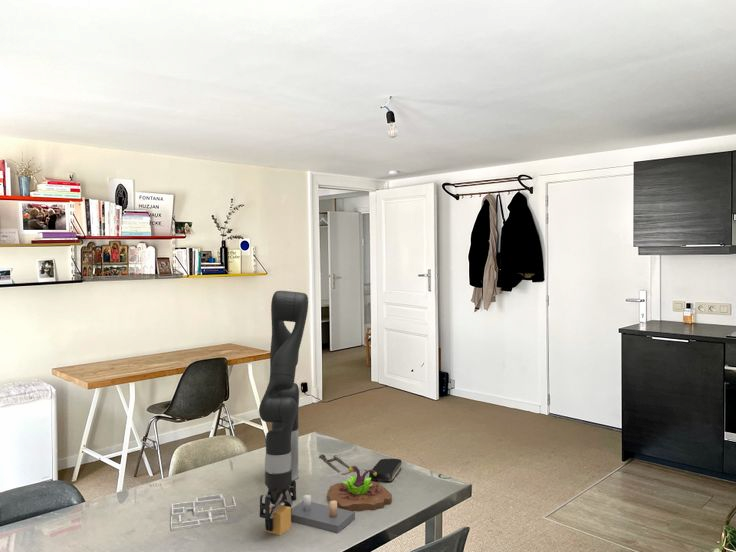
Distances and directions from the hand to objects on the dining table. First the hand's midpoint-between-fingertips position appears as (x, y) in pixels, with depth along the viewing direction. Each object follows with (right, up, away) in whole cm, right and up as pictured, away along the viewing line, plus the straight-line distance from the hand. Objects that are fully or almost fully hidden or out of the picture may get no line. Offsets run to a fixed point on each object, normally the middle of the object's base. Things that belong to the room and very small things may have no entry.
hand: (278, 524), depth 160 cm
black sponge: (+32, -1, +42) cm, 53 cm away
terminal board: (+11, -2, +7) cm, 13 cm away
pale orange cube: (0, -2, 0) cm, 2 cm away
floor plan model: (-25, -2, +14) cm, 29 cm away
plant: (+22, -2, +21) cm, 31 cm away
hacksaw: (+16, -1, +52) cm, 54 cm away
